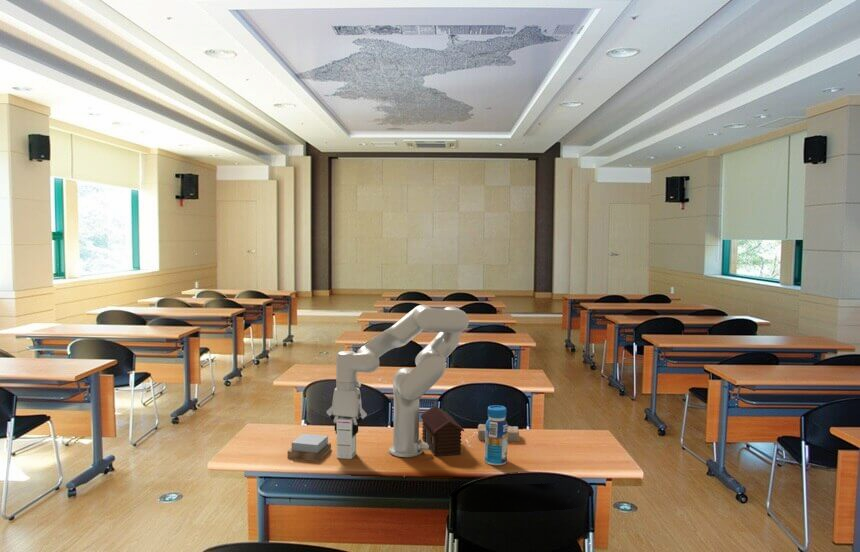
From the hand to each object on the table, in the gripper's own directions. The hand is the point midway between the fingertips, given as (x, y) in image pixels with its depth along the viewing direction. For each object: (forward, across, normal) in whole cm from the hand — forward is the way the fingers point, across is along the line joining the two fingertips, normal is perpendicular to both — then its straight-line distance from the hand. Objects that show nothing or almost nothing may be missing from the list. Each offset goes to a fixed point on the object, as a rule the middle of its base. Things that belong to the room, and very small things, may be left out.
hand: (346, 433), depth 225 cm
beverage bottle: (+9, -54, -9) cm, 55 cm away
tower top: (+6, +14, +1) cm, 15 cm away
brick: (+9, -52, -35) cm, 63 cm away
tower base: (+9, +14, +1) cm, 17 cm away
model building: (+9, -32, -19) cm, 38 cm away
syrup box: (+9, 0, 0) cm, 9 cm away
